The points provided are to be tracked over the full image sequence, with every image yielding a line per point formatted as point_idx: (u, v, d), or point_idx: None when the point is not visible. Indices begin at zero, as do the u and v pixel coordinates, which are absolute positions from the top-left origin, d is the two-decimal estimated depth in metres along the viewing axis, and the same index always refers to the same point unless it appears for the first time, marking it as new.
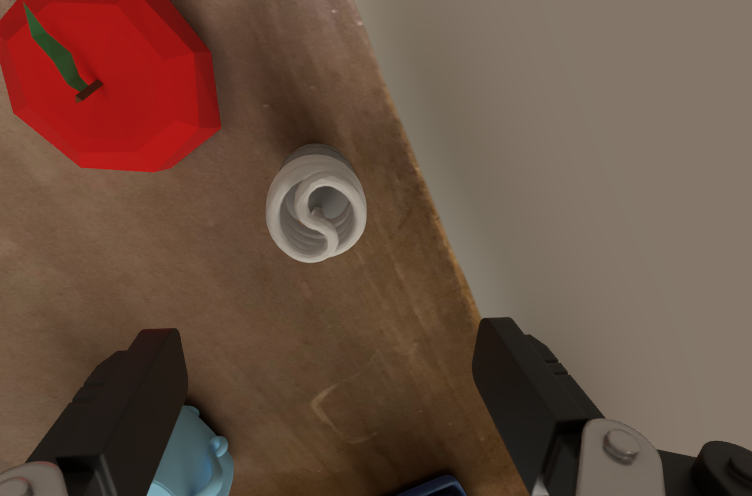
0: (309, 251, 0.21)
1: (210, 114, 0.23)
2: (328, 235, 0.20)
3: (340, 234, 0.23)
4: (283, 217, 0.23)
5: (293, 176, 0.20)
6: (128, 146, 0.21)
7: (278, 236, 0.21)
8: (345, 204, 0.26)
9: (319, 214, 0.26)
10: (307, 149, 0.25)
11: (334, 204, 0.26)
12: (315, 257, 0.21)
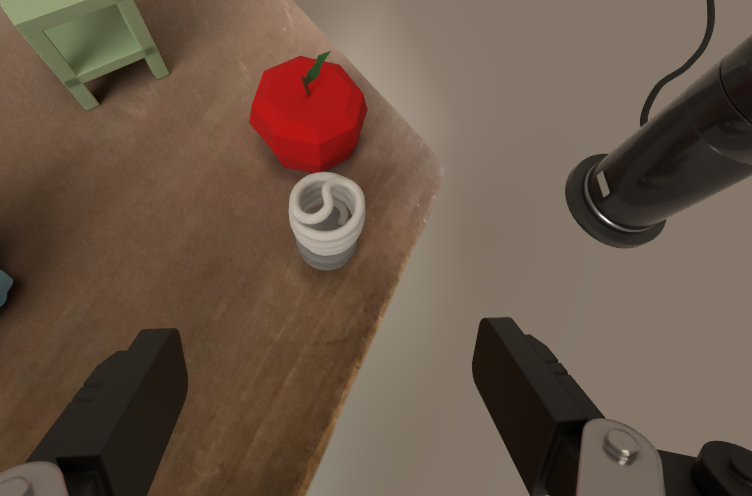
0: (302, 210, 0.27)
1: (327, 152, 0.35)
2: (326, 205, 0.26)
3: None
4: (303, 202, 0.30)
5: None
6: (284, 115, 0.33)
7: (299, 186, 0.27)
8: (330, 255, 0.32)
9: None
10: None
11: None
12: (302, 213, 0.26)
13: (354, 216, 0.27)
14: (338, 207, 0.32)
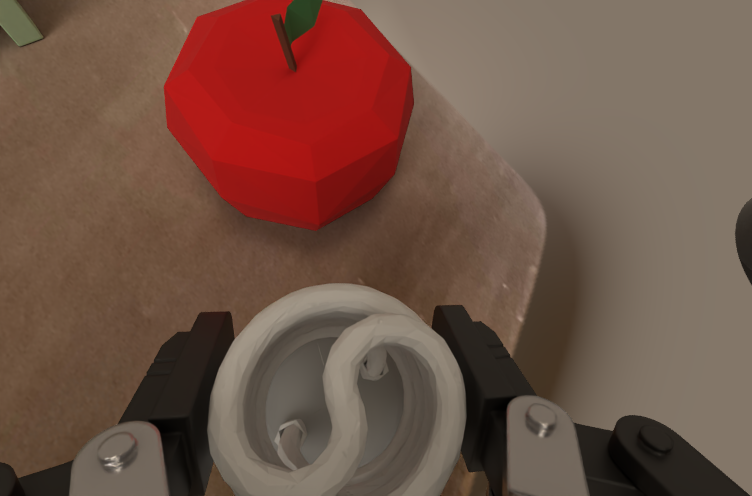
0: (251, 449, 0.07)
1: (334, 196, 0.16)
2: (341, 453, 0.07)
3: None
4: (269, 359, 0.10)
5: (384, 301, 0.09)
6: (235, 112, 0.14)
7: (246, 350, 0.08)
8: None
9: (297, 436, 0.12)
10: None
11: None
12: (249, 474, 0.07)
13: (435, 460, 0.08)
14: None
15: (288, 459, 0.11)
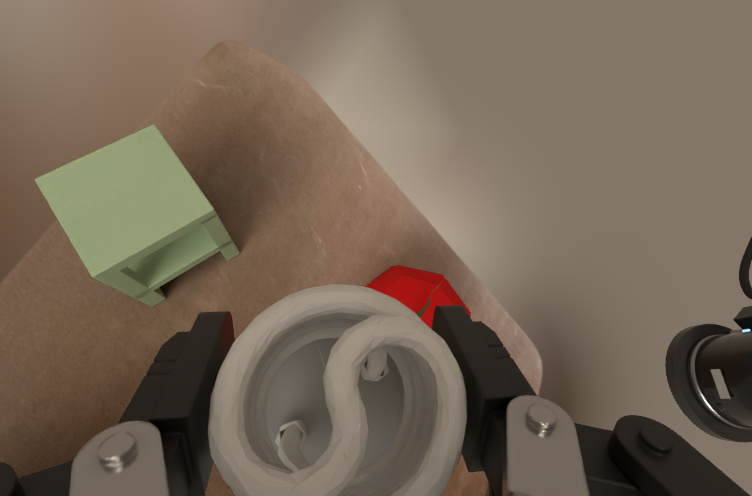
0: (251, 450, 0.07)
1: None
2: (341, 454, 0.07)
3: None
4: (270, 360, 0.10)
5: (385, 302, 0.09)
6: None
7: (247, 352, 0.08)
8: None
9: (297, 437, 0.12)
10: None
11: None
12: (249, 476, 0.07)
13: (436, 461, 0.08)
14: None
15: (288, 460, 0.11)
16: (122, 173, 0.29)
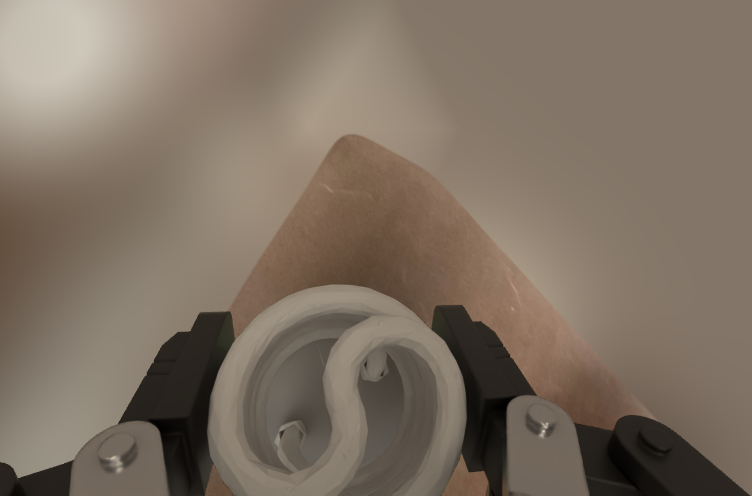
0: (251, 451, 0.07)
1: None
2: (341, 455, 0.07)
3: None
4: (269, 360, 0.10)
5: (385, 302, 0.09)
6: None
7: (246, 352, 0.08)
8: None
9: (297, 437, 0.12)
10: None
11: None
12: (249, 476, 0.07)
13: (435, 462, 0.08)
14: None
15: (288, 460, 0.11)
16: None
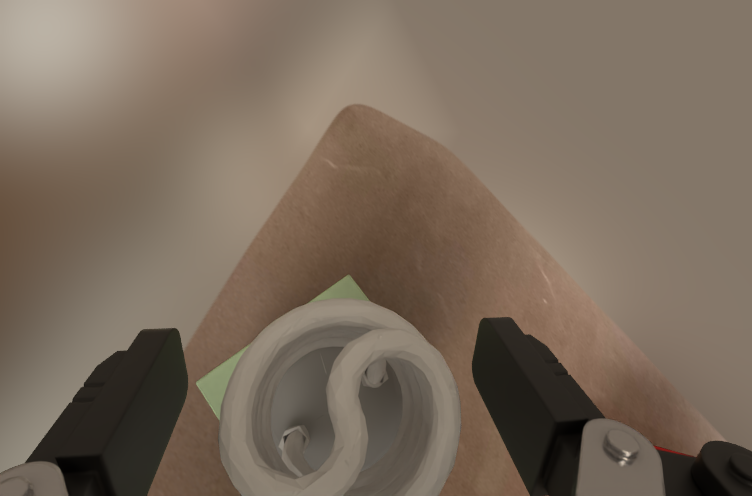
0: (259, 457, 0.08)
1: None
2: (343, 461, 0.07)
3: None
4: (274, 369, 0.11)
5: (384, 316, 0.10)
6: None
7: (254, 364, 0.09)
8: None
9: (300, 442, 0.13)
10: None
11: None
12: (257, 481, 0.07)
13: (431, 467, 0.08)
14: None
15: (292, 464, 0.12)
16: None
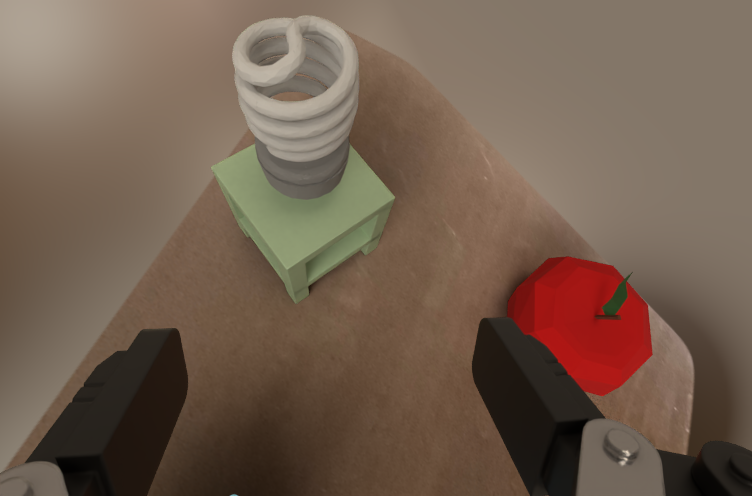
0: None
1: None
2: (292, 51, 0.15)
3: None
4: None
5: None
6: (582, 352, 0.28)
7: (250, 31, 0.17)
8: (306, 168, 0.21)
9: None
10: None
11: None
12: (251, 64, 0.16)
13: (340, 78, 0.16)
14: None
15: None
16: None
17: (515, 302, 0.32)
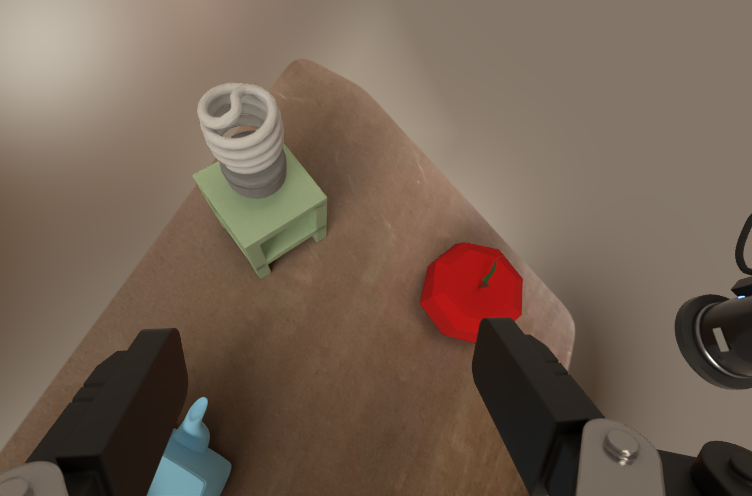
0: (209, 115, 0.26)
1: None
2: (232, 108, 0.25)
3: (232, 149, 0.28)
4: None
5: None
6: (465, 311, 0.38)
7: (209, 93, 0.27)
8: (253, 177, 0.31)
9: None
10: None
11: None
12: (208, 116, 0.26)
13: (264, 123, 0.26)
14: None
15: None
16: None
17: (425, 277, 0.42)
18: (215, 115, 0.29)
